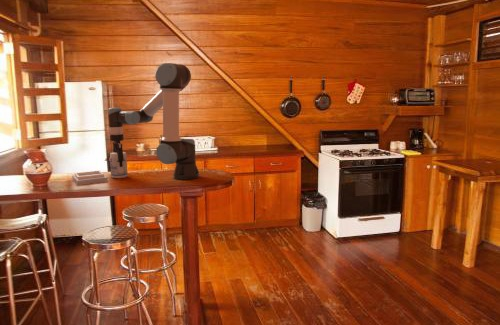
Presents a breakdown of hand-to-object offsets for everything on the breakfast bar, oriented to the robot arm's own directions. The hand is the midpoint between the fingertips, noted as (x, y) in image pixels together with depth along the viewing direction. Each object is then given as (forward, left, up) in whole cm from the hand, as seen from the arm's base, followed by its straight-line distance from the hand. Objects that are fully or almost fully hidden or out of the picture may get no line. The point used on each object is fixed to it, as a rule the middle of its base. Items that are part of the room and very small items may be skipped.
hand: (119, 171), depth 235 cm
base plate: (0, +17, -4) cm, 17 cm away
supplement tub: (0, 0, -4) cm, 4 cm away
